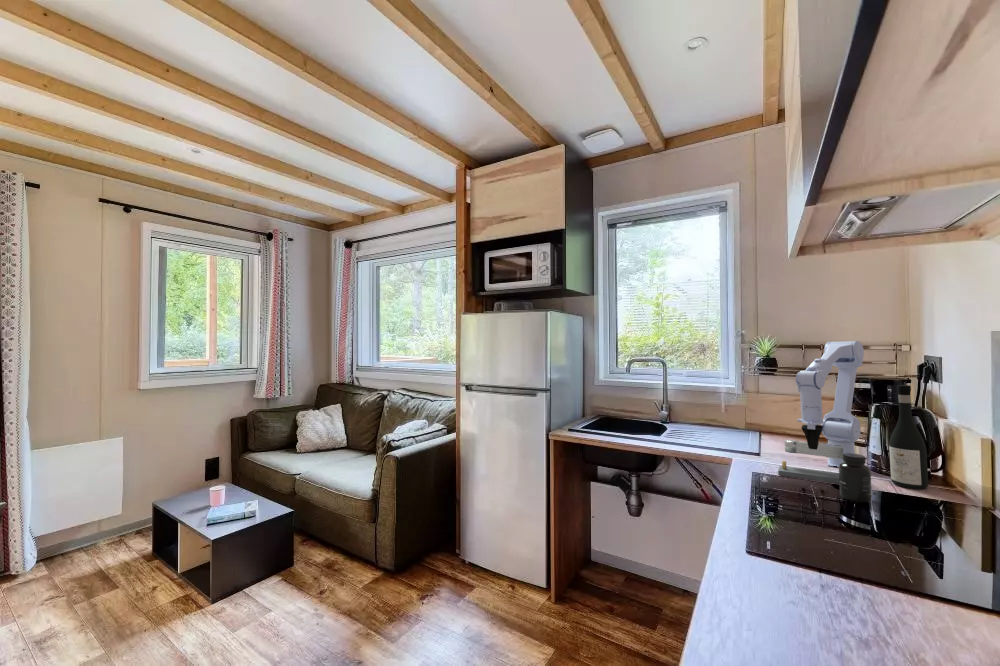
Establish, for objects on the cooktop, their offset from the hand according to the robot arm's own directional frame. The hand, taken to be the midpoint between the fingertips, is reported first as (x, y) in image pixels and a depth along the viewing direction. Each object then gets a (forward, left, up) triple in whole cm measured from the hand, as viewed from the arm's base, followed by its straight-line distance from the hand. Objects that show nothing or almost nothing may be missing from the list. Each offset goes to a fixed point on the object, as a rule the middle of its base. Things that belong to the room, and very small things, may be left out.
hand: (813, 447), depth 140 cm
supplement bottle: (+21, +10, -9) cm, 25 cm away
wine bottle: (-1, +23, -9) cm, 25 cm away
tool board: (+4, +2, -9) cm, 10 cm away
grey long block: (0, -1, -2) cm, 2 cm away
